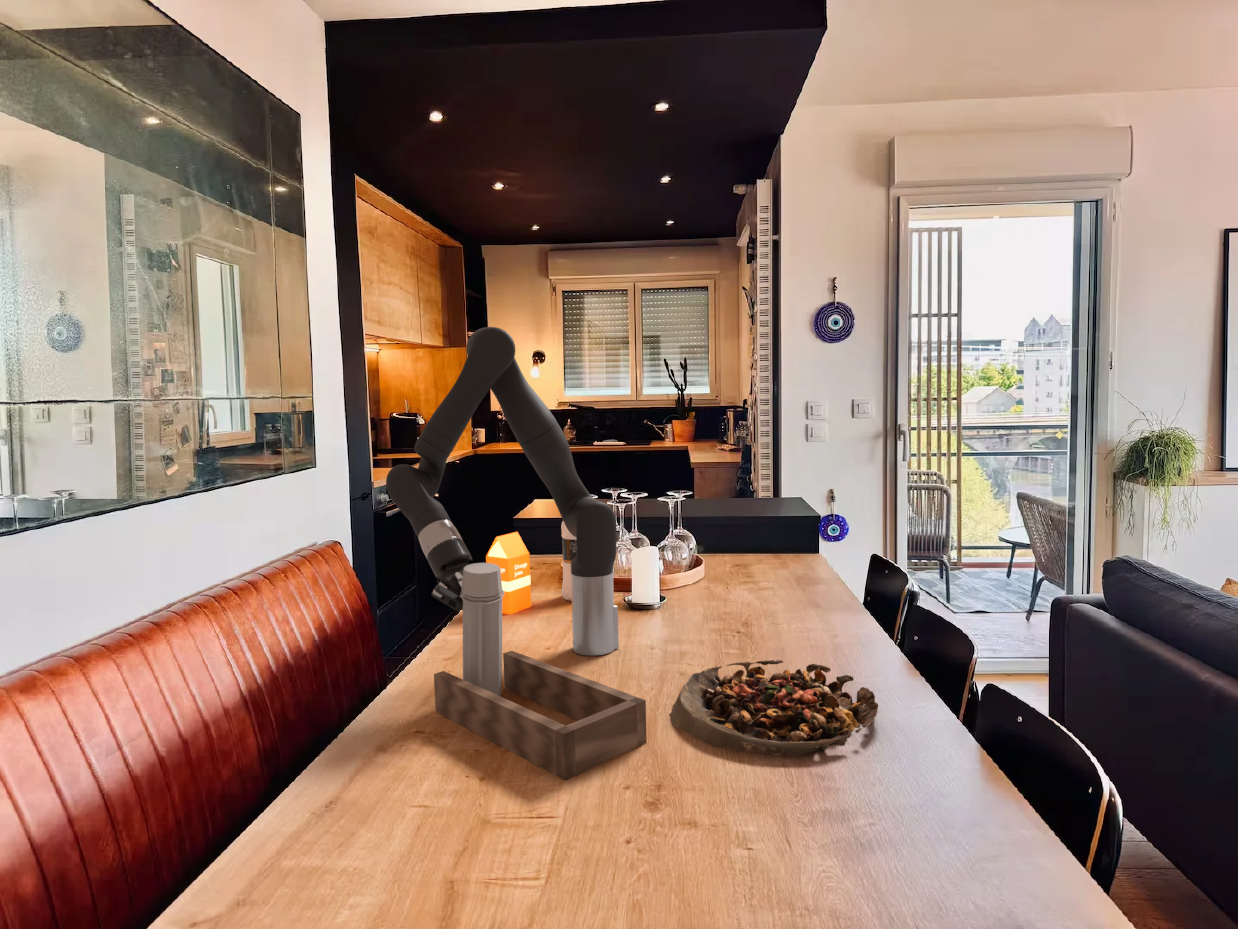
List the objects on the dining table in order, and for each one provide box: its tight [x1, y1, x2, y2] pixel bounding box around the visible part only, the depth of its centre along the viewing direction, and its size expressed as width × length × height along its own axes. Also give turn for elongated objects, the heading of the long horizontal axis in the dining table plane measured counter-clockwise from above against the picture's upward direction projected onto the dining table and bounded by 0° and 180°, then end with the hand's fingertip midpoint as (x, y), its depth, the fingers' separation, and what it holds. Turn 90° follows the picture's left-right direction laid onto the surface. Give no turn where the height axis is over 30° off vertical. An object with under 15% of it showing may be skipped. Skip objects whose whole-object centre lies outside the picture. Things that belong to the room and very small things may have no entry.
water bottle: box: [460, 562, 505, 696], centre depth 141 cm, size 9×8×25 cm
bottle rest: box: [433, 650, 647, 781], centre depth 132 cm, size 36×17×7 cm, turn 44°
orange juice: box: [485, 531, 532, 615], centre depth 205 cm, size 8×9×20 cm
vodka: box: [560, 520, 576, 602], centre depth 214 cm, size 9×9×30 cm
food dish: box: [668, 659, 879, 756], centre depth 134 cm, size 35×33×8 cm
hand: (483, 624), depth 141 cm, fingers closed
